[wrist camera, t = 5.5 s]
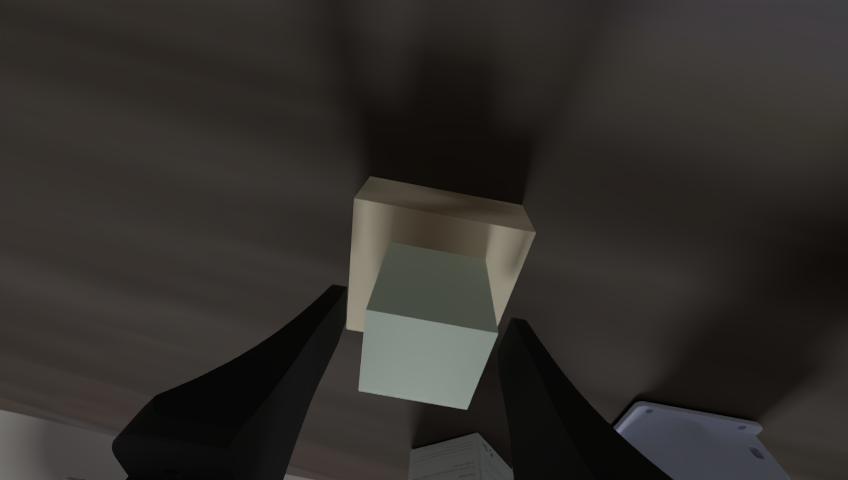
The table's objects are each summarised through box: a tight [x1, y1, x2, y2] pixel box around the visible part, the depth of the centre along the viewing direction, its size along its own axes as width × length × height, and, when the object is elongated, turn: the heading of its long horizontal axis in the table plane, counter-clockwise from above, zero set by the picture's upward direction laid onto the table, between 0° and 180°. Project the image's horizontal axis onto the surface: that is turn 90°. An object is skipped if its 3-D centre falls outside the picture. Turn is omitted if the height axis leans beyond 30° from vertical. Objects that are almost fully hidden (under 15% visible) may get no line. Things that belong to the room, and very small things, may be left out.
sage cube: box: [358, 242, 498, 410], centre depth 13 cm, size 4×4×4 cm
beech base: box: [346, 176, 536, 332], centre depth 16 cm, size 8×8×3 cm
